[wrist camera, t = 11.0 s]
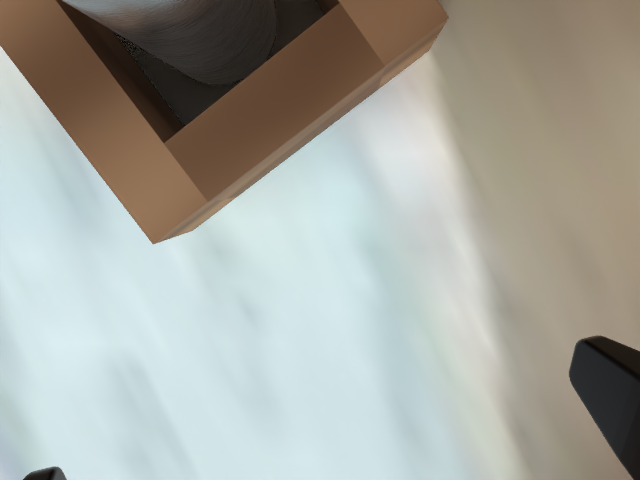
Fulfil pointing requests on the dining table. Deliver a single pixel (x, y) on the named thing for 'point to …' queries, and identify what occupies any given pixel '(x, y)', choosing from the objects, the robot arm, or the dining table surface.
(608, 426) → the robot arm
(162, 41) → the pin
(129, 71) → the socket block
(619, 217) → the dining table surface
